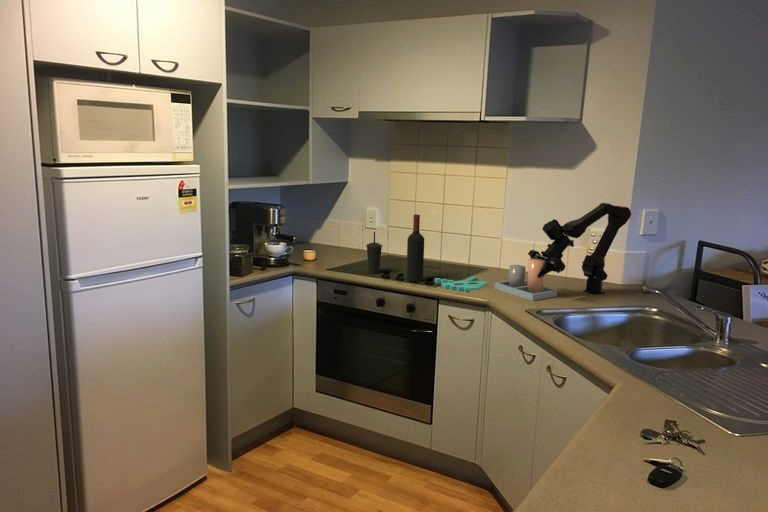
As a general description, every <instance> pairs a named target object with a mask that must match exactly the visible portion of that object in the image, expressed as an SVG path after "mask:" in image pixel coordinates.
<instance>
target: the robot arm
mask: <svg viewBox="0 0 768 512" xmlns="http://www.w3.org/2000/svg"><path fill="white" fill-rule="evenodd" d="M606 215H608V216H607V225H606V227H605V229H604V231H603V233H602V234H601V237H600V239H599V241H598V243H597V245H596V247H595V248H594V251H593V252H592V254H590V255H589V254H586V255H585V256H584V260H583V261H582V262H581V264H582V265H581V270H582V273H583V276H584V277H587V278H586V286H585V289H582V291H583V292H586V293H589V294H593V295H598V294H603V293H605V290H603V282H604V281H606V280H607V278H608V274H607V272H606V271H605V270H604V269H605V266H606V262H605V258H606V255H607V253H608V251H609V250H610V248H611V245H612V244H613V242H614V239H615V238H616V236H617V234H618V232H619V230H620V229H621V228H622V227H623V226H624V225H626V224H627V222H628V221H629V220H630V218H631V217H632V212H631V209H630V207H627V206H620V205H614V204H611V203H607V202H601V203H600V204H599V205H598V206H595V208H593V209H591V210H590V211H589V212H587V213H586V214H584V215H583V216H581V217H580V218H577V219H572V220H570V221H568V222H566V223H564V224H563V225H561V224H560V223H559V220H557V219H556V218H555V219H554V218H553V219H552V220H551V221H547V223H544V225H543V226H542V231H543V232H544V234H545V235H546V236H547V238H549V239H550V240H551V241H552V242H551V244H550V243H547V248H546V249H545V251H543V250H541V252H539V251H537V250H534V249H530V251H529V252H528V253H527V254H528V256H529V257H530V259H543V260H545V263H544V265H543V266H542V268H541V270H540V272H539V274H538V276H537V277H538V278H540V277H542V276H544V277H545V276H546V275H547V274H549V273H551V272H554V273H557V274H560V273H561V272H563V271H564V270H565V269H566V264H565V263H564V262H563V260H562V258H563V257H564V251H565V250H566V249H567V248H569V247H571V248H574V247H575V244H574V241H575V240H573V239H578V238H580V237H582V236H583V234H584V233H585V232H586V231H587V228H588V227H590V226H592V225H593V224H594V223H596V222H597V221H598V220H600V219H602V218H603V217H605V216H606ZM571 238H573V239H571ZM526 273H527V274H528V271H527V272H526Z"/></svg>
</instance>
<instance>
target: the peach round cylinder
mask: <svg viewBox="0 0 768 512" xmlns="http://www.w3.org/2000/svg"><path fill="white" fill-rule="evenodd" d="M527 262H528V265H527V272H528V273H527V280H526V281H527V291H528V292H531V293H540V292H543V287H545V286H544V284H545V283H544V282H545V275H544V276H542V277H540V278H538V277H537V276H538V274H539V272H540V270H541V268H542V266H543V265H544V263H545V260H543V259H531V258H529V259H528V261H527Z"/></svg>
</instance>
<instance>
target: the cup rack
mask: <svg viewBox="0 0 768 512" xmlns="http://www.w3.org/2000/svg"><path fill="white" fill-rule="evenodd" d="M508 284H509V280H504V281H496V282H494V290H498V291H501V292H504V293H508V294H511V295H514V296H517V297H520V298H523V299H525V300H528V301H539V300H544V299H550V298H557V297H558V289H554V288H550V287H547V286H544V287H543V292H540V293H531V292H528V291H527V280H525V283H524V286H523V287H517V288H513V287H510V286H508Z"/></svg>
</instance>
